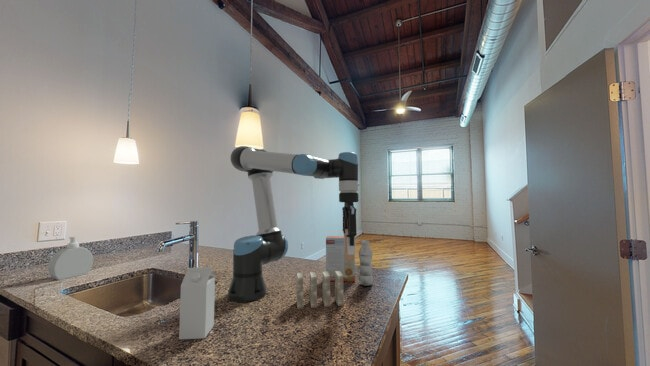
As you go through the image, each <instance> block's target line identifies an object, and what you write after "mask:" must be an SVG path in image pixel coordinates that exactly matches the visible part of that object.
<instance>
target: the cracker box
mask: <svg viewBox="0 0 650 366" xmlns="http://www.w3.org/2000/svg"><path fill="white" fill-rule="evenodd" d="M355 255H356V254H355ZM355 255H354V261H348V259H347V258H346V257H345V251H344V235H342V236H341V235H331V236H330V235H328V236H326V237H325V272H327V271H328V273H329V275H330V282H335V271H340V272H341V273H342V274H343V282H348V283H349V282H351V283H353V282H354V283H355V282H356V258H355V257H356V256H355Z"/></svg>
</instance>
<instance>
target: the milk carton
mask: <svg viewBox="0 0 650 366" xmlns="http://www.w3.org/2000/svg"><path fill="white" fill-rule="evenodd" d="M181 282H182V283H181V284H180V296H179V299H180V303H179V332H178V333H179V334H178V339H179V340H197V339H199V340H200V339H201V340H202V339H206V337H207V336H208V335H209V333H210V332H211V330H212V329H213V327H214V325H215V324H214V323H215V295H216V294H215V292H216V291H215V289H216V288H215V287H216V276H215V274H214V273H213V271H212V267H187V268H186V272H185V275H184V277H183V279H182V281H181Z"/></svg>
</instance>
